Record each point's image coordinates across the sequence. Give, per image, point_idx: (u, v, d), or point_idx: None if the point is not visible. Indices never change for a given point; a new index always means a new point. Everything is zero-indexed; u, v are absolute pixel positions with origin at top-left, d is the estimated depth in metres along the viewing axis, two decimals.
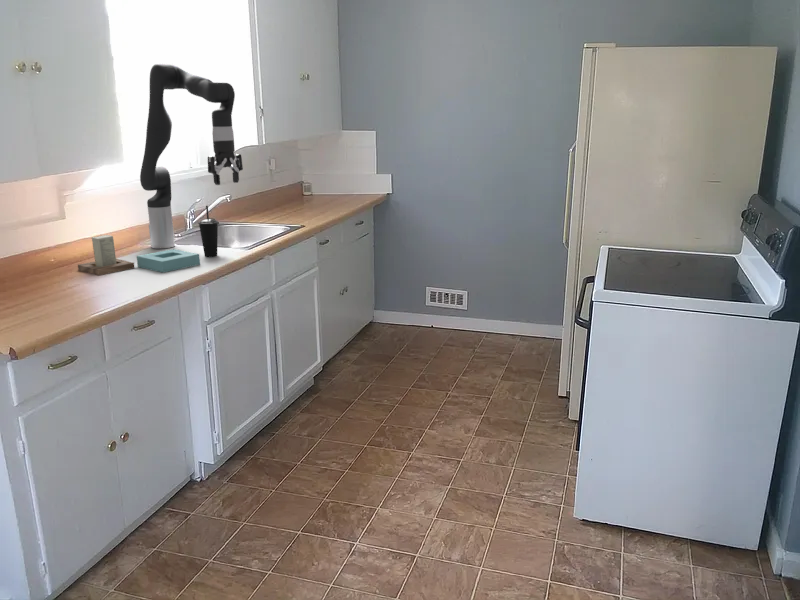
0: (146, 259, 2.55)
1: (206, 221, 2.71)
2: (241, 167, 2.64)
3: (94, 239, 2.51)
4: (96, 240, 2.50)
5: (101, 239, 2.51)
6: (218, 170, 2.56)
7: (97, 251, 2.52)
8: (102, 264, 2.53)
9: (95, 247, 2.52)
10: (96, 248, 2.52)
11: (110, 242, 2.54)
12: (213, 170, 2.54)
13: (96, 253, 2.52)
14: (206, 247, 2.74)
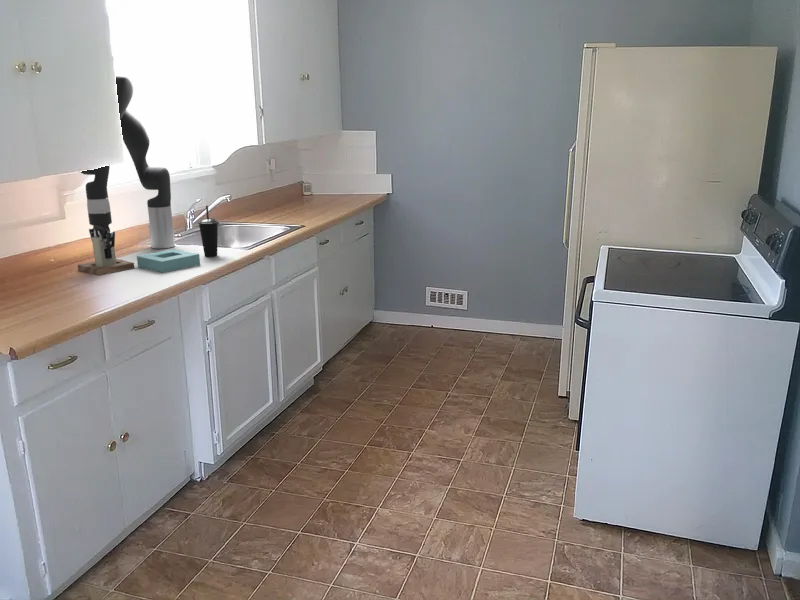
0: (146, 259, 2.55)
1: (206, 221, 2.71)
2: None
3: (94, 239, 2.51)
4: (96, 240, 2.50)
5: (101, 239, 2.51)
6: None
7: (97, 251, 2.52)
8: (102, 264, 2.53)
9: (95, 247, 2.52)
10: (96, 247, 2.52)
11: None
12: None
13: (96, 252, 2.52)
14: (206, 247, 2.74)
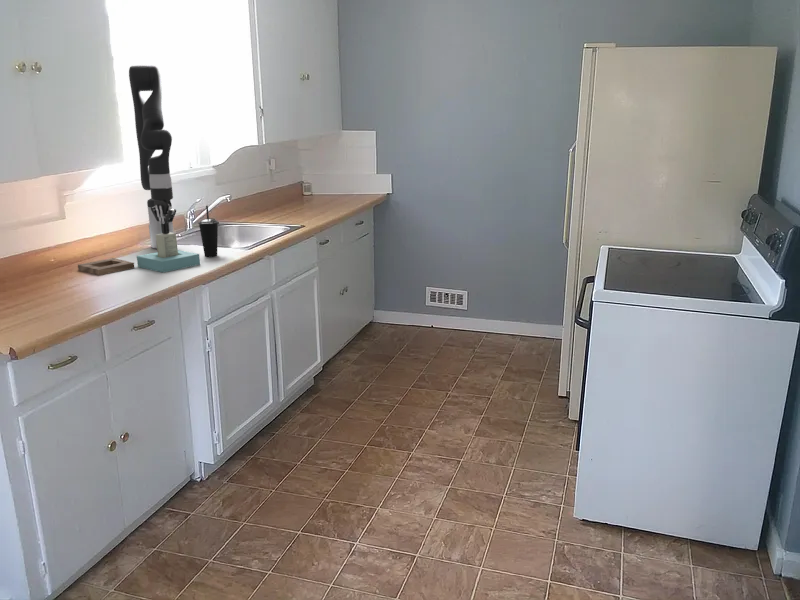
0: (146, 259, 2.55)
1: (206, 221, 2.71)
2: None
3: (158, 236, 2.56)
4: (160, 237, 2.55)
5: (165, 236, 2.56)
6: None
7: (161, 248, 2.57)
8: None
9: (159, 244, 2.57)
10: (160, 244, 2.56)
11: (173, 239, 2.59)
12: None
13: (160, 249, 2.57)
14: (206, 247, 2.74)
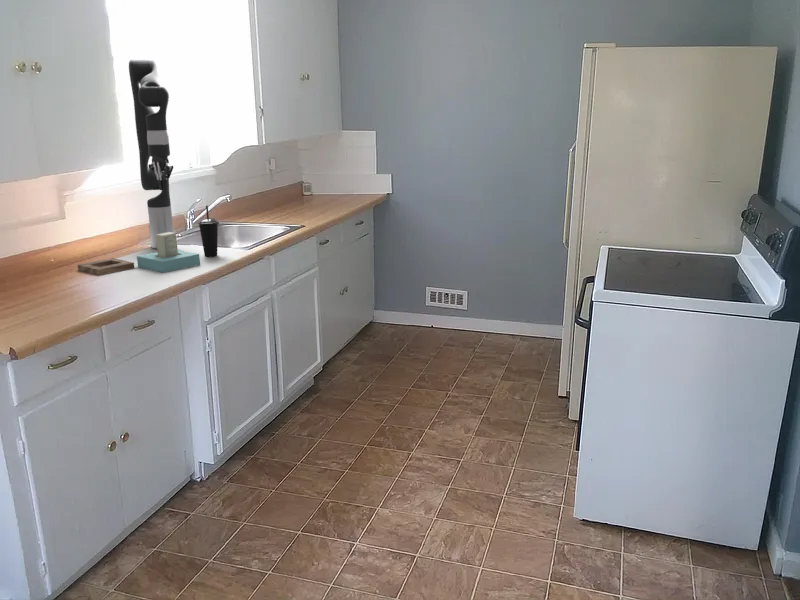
0: (146, 259, 2.55)
1: (206, 221, 2.71)
2: None
3: (158, 236, 2.56)
4: (160, 237, 2.55)
5: (165, 236, 2.56)
6: None
7: (161, 248, 2.57)
8: None
9: (159, 244, 2.57)
10: (160, 244, 2.56)
11: (173, 239, 2.59)
12: None
13: (160, 249, 2.57)
14: (206, 247, 2.74)
